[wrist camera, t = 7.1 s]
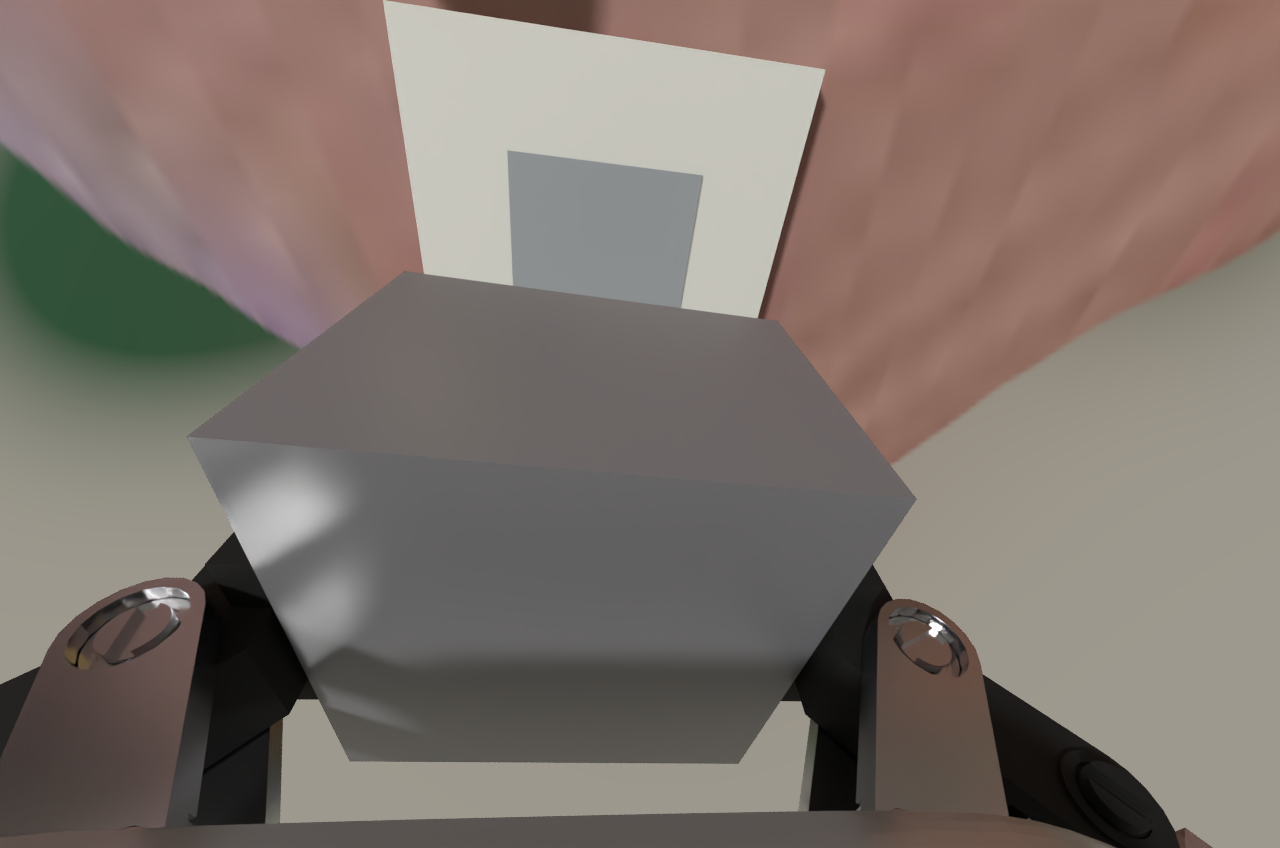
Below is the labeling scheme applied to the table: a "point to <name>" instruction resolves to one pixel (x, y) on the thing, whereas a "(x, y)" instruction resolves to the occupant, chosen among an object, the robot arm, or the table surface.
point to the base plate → (596, 159)
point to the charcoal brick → (549, 522)
